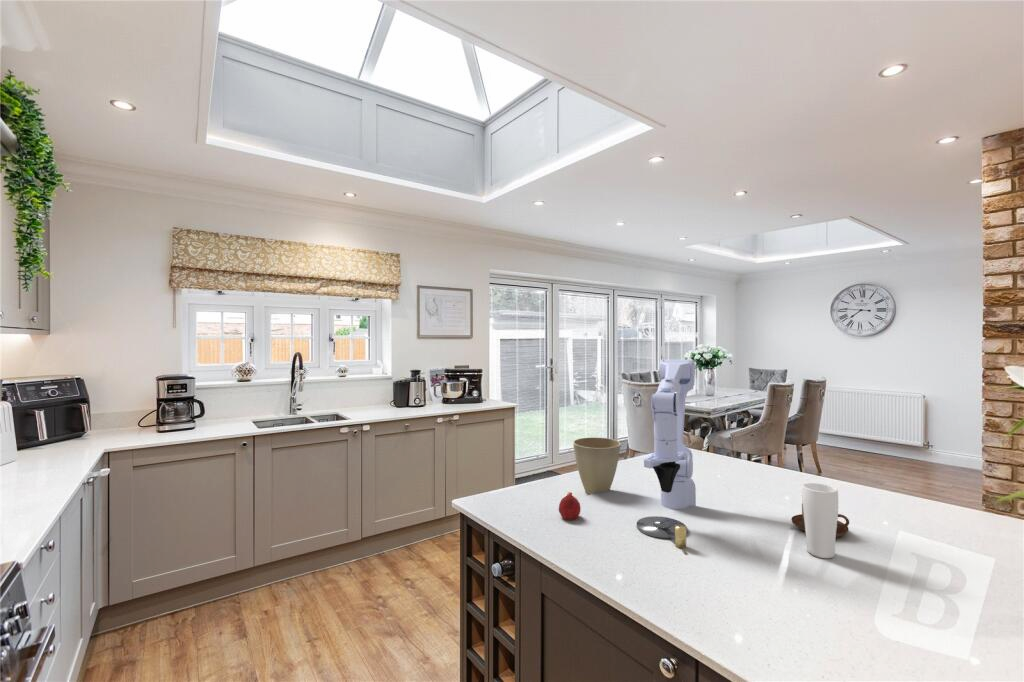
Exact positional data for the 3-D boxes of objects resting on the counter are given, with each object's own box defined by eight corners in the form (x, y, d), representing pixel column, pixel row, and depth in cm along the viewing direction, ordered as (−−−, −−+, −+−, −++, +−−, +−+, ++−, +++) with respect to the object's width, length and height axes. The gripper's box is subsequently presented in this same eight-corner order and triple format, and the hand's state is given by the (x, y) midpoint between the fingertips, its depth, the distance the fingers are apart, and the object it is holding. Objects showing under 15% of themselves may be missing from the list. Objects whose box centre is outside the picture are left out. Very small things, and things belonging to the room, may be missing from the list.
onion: (580, 527, 121) (579, 496, 121) (557, 525, 122) (557, 495, 122) (581, 518, 127) (580, 489, 127) (560, 517, 128) (559, 488, 128)
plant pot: (565, 494, 147) (564, 444, 147) (586, 482, 159) (585, 435, 159) (610, 503, 138) (609, 449, 138) (628, 489, 150) (627, 440, 150)
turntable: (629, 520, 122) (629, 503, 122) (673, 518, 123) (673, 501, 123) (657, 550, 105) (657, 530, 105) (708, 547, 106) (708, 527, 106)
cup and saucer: (842, 525, 120) (842, 501, 120) (853, 544, 110) (853, 518, 109) (788, 518, 125) (788, 495, 125) (794, 536, 115) (794, 511, 115)
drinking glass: (833, 549, 107) (832, 484, 107) (843, 563, 100) (842, 493, 100) (799, 545, 109) (798, 481, 109) (807, 558, 103) (806, 490, 102)
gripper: (670, 432, 127) (671, 482, 127) (634, 439, 119) (634, 492, 119) (693, 437, 121) (694, 489, 121) (656, 444, 113) (657, 500, 114)
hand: (666, 491), depth 120 cm, fingers closed
